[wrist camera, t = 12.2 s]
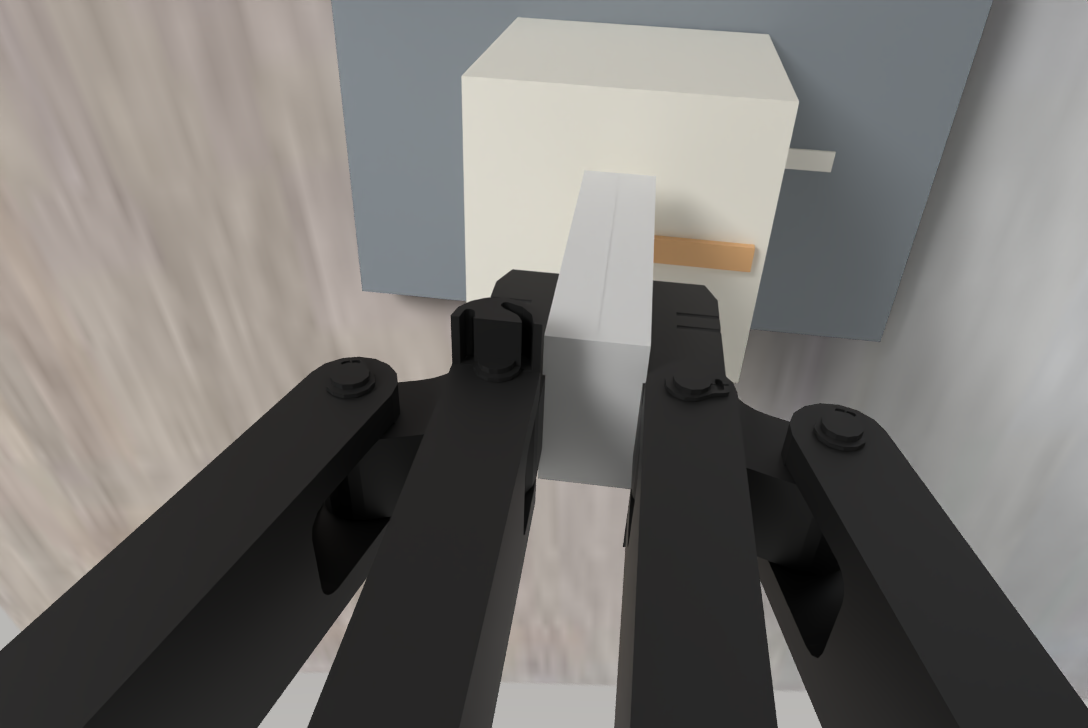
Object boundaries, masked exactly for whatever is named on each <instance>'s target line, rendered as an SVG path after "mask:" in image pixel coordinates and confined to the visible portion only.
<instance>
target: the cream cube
mask: <svg viewBox="0 0 1088 728" xmlns="http://www.w3.org/2000/svg"><path fill="white" fill-rule="evenodd" d="M461 81H462V126H463V171H464V216H465V261H466V303H467V302H469V301H472V300H477V299H482V298H487V297H491V294H492V291H493V289H494V286H495V283H496V281H497V280H499V279H500V278H501V277H503V276H504V275H505V274H507V273H508V272H509V271H511V270H512V269H515V270H526V271H537V272H547V273H558V274H559V273H560V269H561V265H562V261H563V256H564V252H565V248H566V244H567V240H568V236H569V232H570V228H571V224H572V220H573V215H574V211H575V207H576V203H577V199H578V195H579V191H580V187H581V183H582V178H583V174H584V170H587V171H600V172H612V173H624V174H636V175H648V176H656V195H655V227H654V259H653V280H654V281H665V282H675V283H686V284H697V285H705V286H706V287H707V289H708V290H709V291H710V292H711V293H712V294H713V296H714V297H715V298H716V299H717V300H718V308H719V320H720V326H721V335H722V345H723V354H724V363H725V372H726V377H727V378H728V379H730V380H731V381H732V382H733V383H738V382H739V377H740V373H741V368H742V364H743V359H744V354H745V350H746V345H747V341H748V336H749V331H750V327H751V322H752V317H753V313H754V308H755V304H756V299H757V294H758V290H759V285H760V281H761V276H762V271H763V267H764V262H765V257H766V253H767V248H768V244H769V239H770V234H771V230H772V225H773V221H774V216H775V211H776V207H777V202H778V197H779V193H780V188H781V184H782V179H783V174H784V170H785V165H786V161H787V156H788V151H789V147H790V142H791V138H792V133H793V128H794V124H795V119H796V114H797V110H798V105H799V100H798V98H797V96H796V93H795V91H794V89H793V87H792V85H791V82H790V80H789V78H788V76H787V73H786V71H785V69H784V67H783V65H782V62H781V60H780V58H779V56H778V54H777V51H776V49H775V47H774V45H773V42H772V40H771V38H770V36H769V34H757V33H743V32H728V31H713V30H698V29H684V28H669V27H654V26H640V25H625V24H610V23H596V22H581V21H566V20H551V19H537V18H522V17H517V18H516V19H515V20H514V21H513V23H512V24H511V25H510V26H509V27H508V28H507V29H506V30H505V31H504V32H503V33H502V34H501V35H500V36H499V37H498V38H497V39H496V40H495V41H494V42H493V43H492V44H491V46H490V47H489V48H488V49H487V50H486V51H485V52H484V53H483V54H482V55H481V56H480V57H479V58H478V59H477V60H476V61H475V62H474V63H473V64H472V65H471V66H470V67H469V68H468V70H467V71H466V72H465V73H464V74H463V75H462V76H461Z"/></svg>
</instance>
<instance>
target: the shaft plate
mask: <svg viewBox="0 0 1088 728" xmlns="http://www.w3.org/2000/svg"><path fill="white" fill-rule="evenodd" d="M992 2H993V0H331V3H332V12H333V21H334V31H335V40H336V49H337V59H338V68H339V77H340V87H341V96H342V105H343V115H344V124H345V133H346V143H347V152H348V161H349V171H350V180H351V189H352V199H353V208H354V217H355V227H356V236H357V245H358V255H359V264H360V273H361V283H362V291H369V292H379V293H389V294H399V295H409V296H419V297H429V298H440V299H450V300H460V301H466V261H465V216H464V171H463V126H462V81H461V76H462V75H463V74H464V73H465V72H466V71H467V70H468V68H469V67H470V66H471V65H472V64H473V63H474V62H475V61H476V60H477V59H478V58H479V57H480V56H481V55H482V54H483V53H484V52H485V51H486V50H487V49H488V48H489V47H490V46H491V44H492V43H493V42H494V41H495V40H496V39H497V38H498V37H499V36H500V35H501V34H502V33H503V32H504V31H505V30H506V29H507V28H508V27H509V26H510V25H511V24H512V23H513V21H514V20H515V19H516V18H517V17H522V18H537V19H551V20H566V21H581V22H596V23H610V24H625V25H640V26H654V27H669V28H684V29H698V30H713V31H728V32H743V33H757V34H769V36H770V38H771V40H772V42H773V45H774V47H775V49H776V51H777V54H778V56H779V58H780V60H781V62H782V65H783V67H784V69H785V71H786V73H787V76H788V78H789V80H790V82H791V85H792V87H793V89H794V91H795V93H796V96H797V98H798V100H799V105H798V110H797V114H796V119H795V124H794V128H793V133H792V138H791V142H790V147H789V151H788V156H787V161H786V165H785V170H784V174H783V179H782V184H781V188H780V193H779V197H778V202H777V207H776V211H775V216H774V221H773V225H772V230H771V234H770V239H769V244H768V248H767V253H766V257H765V262H764V267H763V271H762V276H761V281H760V285H759V290H758V294H757V299H756V304H755V308H754V313H753V317H752V322H751V327H750V329H754V330H764V331H775V332H785V333H795V334H805V335H815V336H825V337H835V338H846V339H856V340H866V341H876V342H880V341H881V338H882V335H883V332H884V329H885V326H886V323H887V320H888V317H889V314H890V311H891V308H892V305H893V302H894V299H895V296H896V293H897V290H898V287H899V284H900V281H901V278H902V275H903V272H904V269H905V266H906V263H907V260H908V257H909V254H910V250H911V247H912V244H913V241H914V238H915V235H916V232H917V229H918V226H919V223H920V220H921V217H922V214H923V211H924V208H925V205H926V202H927V199H928V196H929V193H930V190H931V187H932V184H933V181H934V178H935V175H936V172H937V169H938V166H939V163H940V160H941V157H942V154H943V151H944V148H945V145H946V141H947V138H948V135H949V132H950V129H951V126H952V123H953V120H954V117H955V114H956V111H957V108H958V105H959V102H960V99H961V96H962V93H963V90H964V87H965V84H966V81H967V78H968V75H969V72H970V69H971V66H972V63H973V60H974V57H975V54H976V51H977V48H978V45H979V42H980V39H981V36H982V33H983V29H984V26H985V23H986V20H987V17H988V14H989V11H990V8H991V5H992Z"/></svg>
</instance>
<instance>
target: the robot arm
mask: <svg viewBox="0 0 1088 728" xmlns="http://www.w3.org/2000/svg"><path fill="white" fill-rule="evenodd" d="M655 195H656V176H648V175H636V174H624V173H612V172H600V171H587V170H584V174H583V178H582V183H581V187H580V191H579V195H578V199H577V203H576V207H575V211H574V215H573V220H572V224H571V228H570V232H569V236H568V240H567V244H566V248H565V252H564V256H563V261H562V265H561V269H560V273H559V274H558V273H547V272H537V271H526V270H515V269H512V270H511V271H509V272H508V273H507V274H505V275H504V276H503V277H501V278H500V279H499V280H497V281H496V283H495V286H494V289H493V291H492V294H491V297H487V298H482V299H477V300H472V301H469V302H467V303H465V304H463V305H461V306H459V307H458V308H457V309H456V310H455V311H454V312H453V314H452V315H451V337H452V366H451V368H450V371H449V373H447V374H445V375H442V376H439V377H436V378H431V379H425V380H418V381H408V382H398V381H397V373H396V372H395V371H394V370H393V369H392V368H391V367H390V366H389V365H388V364H386V363H384V362H381V361H379V360H377V359H372V358H364V357H352V358H350V357H349V358H341V359H338V360H335V361H332V362H329V363H326V364H324V365H322V366H320V367H319V368H317V369H316V370H314V371H313V372H311V373H310V374H309V375H308V376H307V377H306V378H305V379H303V380H302V381H301V382H300V383H299V384H298V385H297V386H296V387H295V388H293V389H292V390H291V391H290V392H289V393H288V394H287V395H286V396H284V397H283V398H282V399H281V400H280V401H279V402H278V403H277V404H276V405H274V406H273V407H272V408H271V409H270V410H269V411H268V412H267V413H265V414H264V415H263V416H262V417H261V418H260V419H259V420H258V421H257V422H255V423H254V424H253V425H252V426H251V427H250V428H249V429H248V430H246V431H245V432H244V433H243V434H242V435H241V436H240V437H239V438H238V439H236V440H235V441H234V442H233V443H232V444H231V445H230V446H229V447H227V448H226V449H225V450H224V451H223V452H222V453H221V454H220V455H219V456H217V457H216V458H215V459H214V460H213V461H212V462H211V463H210V464H208V465H207V466H206V467H205V468H204V469H203V470H202V471H201V472H200V473H198V474H197V475H196V476H195V477H194V478H193V479H192V480H191V481H189V482H188V483H187V484H186V485H185V486H184V487H183V488H182V489H181V490H179V491H178V492H177V493H176V494H175V495H174V496H173V497H172V498H170V499H169V500H168V501H167V502H166V503H165V504H164V505H163V506H162V507H160V508H159V509H158V510H157V511H156V512H155V513H154V514H153V515H151V516H150V517H149V518H148V519H147V520H146V521H145V522H144V523H143V524H141V525H140V526H139V527H138V528H137V529H136V530H135V531H134V532H133V533H131V534H130V535H129V536H128V537H127V538H126V539H125V540H124V541H122V542H121V543H120V544H119V545H118V546H117V547H116V548H115V549H114V550H112V551H111V552H110V553H109V554H108V555H107V556H106V557H105V558H103V559H102V560H101V561H100V562H99V563H98V564H97V565H96V566H95V567H93V568H92V569H91V570H90V571H89V572H88V573H87V574H86V575H84V576H83V577H82V578H81V579H80V580H79V581H78V582H77V583H76V584H74V585H73V586H72V587H71V588H70V589H69V590H68V591H67V592H65V593H64V594H63V595H62V596H61V597H60V598H59V599H58V600H57V601H55V602H54V603H53V604H52V605H51V606H50V607H49V608H48V609H46V610H45V611H44V612H43V613H42V614H41V615H40V616H39V617H38V618H36V619H35V620H34V621H33V622H32V623H31V624H30V625H29V626H27V627H26V628H25V629H24V630H23V631H22V632H21V633H20V634H19V635H17V636H16V637H15V638H14V639H13V640H12V641H11V642H10V643H9V644H7V645H6V646H5V647H4V648H3V649H2V650H1V651H0V728H257V727H258V726H259V725H260V723H261V722H262V720H263V719H264V718H265V716H266V715H267V714H268V712H269V711H270V709H271V708H272V707H273V705H274V704H275V703H276V701H277V700H278V699H279V697H280V696H281V695H282V693H283V692H284V690H285V689H286V687H287V686H288V685H289V684H290V682H291V681H292V679H293V678H294V677H295V675H296V674H297V673H298V671H299V670H300V668H301V667H302V666H303V664H304V663H305V662H306V660H307V659H308V658H309V656H310V655H311V653H312V652H313V651H314V649H315V648H316V647H317V645H318V644H319V642H320V641H321V640H322V638H323V637H324V636H325V634H326V633H327V631H328V630H329V629H330V627H331V626H332V625H333V623H334V622H335V621H336V619H337V618H338V616H339V615H340V614H341V612H342V611H343V610H344V608H345V607H346V605H347V604H348V603H349V601H350V600H351V599H352V597H353V596H354V595H355V593H356V592H357V590H358V589H359V588H360V586H361V585H362V584H363V582H364V581H365V579H366V578H367V579H366V582H365V584H364V587H363V589H362V592H361V594H360V597H359V599H358V602H357V604H356V607H355V609H354V612H353V614H352V617H351V619H350V622H349V624H348V627H347V629H346V632H345V634H344V637H343V639H342V642H341V644H340V647H339V650H338V652H337V655H336V657H335V660H334V662H333V665H332V667H331V670H330V672H329V675H328V677H327V680H326V682H325V685H324V687H323V690H322V692H321V695H320V697H319V700H318V702H317V705H316V707H315V710H314V712H313V715H312V717H311V720H310V722H309V725H308V728H492V723H493V718H494V713H495V707H496V702H497V697H498V692H499V686H500V682H501V676H502V671H503V666H504V661H505V656H506V650H507V645H508V640H509V635H510V630H511V624H512V619H513V614H514V609H515V604H516V598H517V593H518V588H519V583H520V578H521V573H522V567H523V562H524V557H525V552H526V547H527V541H528V536H529V531H530V526H531V521H532V515H533V510H534V505H535V492H536V476H537V471H538V478H540V479H548V480H557V481H565V482H574V483H582V484H591V485H599V486H608V487H617V488H625V489H631V492H630V499H629V506H628V514H627V521H626V528H625V536H624V543H623V547H626V548H625V564H624V580H623V596H622V612H621V629H620V645H619V661H618V677H617V694H616V709H615V726H614V728H778V726H777V718H776V710H775V702H774V693H773V685H772V677H771V668H770V660H769V652H768V643H767V635H766V627H765V618H764V610H763V602H762V594H761V585H760V581H761V583H762V585H763V588H764V590H765V593H766V595H767V597H768V600H769V602H770V604H771V607H772V609H773V612H774V614H775V616H776V619H777V621H778V624H779V626H780V628H781V631H782V633H783V635H784V638H785V640H786V643H787V645H788V647H789V650H790V652H791V654H792V657H793V659H794V662H795V664H796V666H797V669H798V671H799V674H800V676H801V678H802V681H803V683H804V685H805V688H806V690H807V693H808V695H809V697H810V700H811V702H812V705H813V707H814V709H815V712H816V714H817V716H818V719H819V721H820V723H821V726H822V728H1088V708H1087V706H1086V705H1085V704H1084V702H1083V701H1082V700H1081V698H1080V697H1079V695H1078V694H1077V693H1076V691H1075V690H1074V689H1073V687H1072V686H1071V684H1070V683H1069V682H1068V680H1067V679H1066V678H1065V676H1064V675H1063V673H1062V672H1061V671H1060V669H1059V668H1058V667H1057V665H1056V664H1055V663H1054V661H1053V660H1052V658H1051V657H1050V656H1049V654H1048V653H1047V652H1046V650H1045V649H1044V647H1043V646H1042V645H1041V643H1040V642H1039V641H1038V639H1037V638H1036V636H1035V635H1034V634H1033V632H1032V631H1031V630H1030V628H1029V627H1028V625H1027V624H1026V623H1025V621H1024V620H1023V619H1022V617H1021V616H1020V614H1019V613H1018V612H1017V610H1016V609H1015V608H1014V606H1013V605H1012V604H1011V602H1010V601H1009V599H1008V598H1007V597H1006V595H1005V594H1004V593H1003V591H1002V590H1001V588H1000V587H999V586H998V584H997V583H996V582H995V580H994V579H993V577H992V576H991V575H990V573H989V572H988V571H987V569H986V568H985V566H984V565H983V564H982V562H981V561H980V560H979V558H978V557H977V555H976V554H975V553H974V551H973V550H972V549H971V547H970V546H969V545H968V543H967V542H966V540H965V539H964V538H963V536H962V535H961V534H960V532H959V531H958V529H957V528H956V527H955V525H954V524H953V523H952V521H951V520H950V518H949V517H948V516H947V514H946V513H945V512H944V510H943V509H942V507H941V506H940V505H939V503H938V502H937V501H936V499H935V498H934V496H933V495H932V494H931V492H930V491H929V490H928V488H927V487H926V485H925V484H924V483H923V481H922V480H921V479H920V477H919V476H918V475H917V473H916V472H915V470H914V469H913V468H912V466H911V465H910V464H909V462H908V461H907V459H906V458H905V457H904V455H903V454H902V453H901V451H900V450H899V448H898V447H897V446H896V444H895V443H894V442H893V440H892V439H891V437H890V436H889V435H888V433H887V432H886V431H885V430H884V429H883V428H882V427H881V426H880V425H879V424H878V423H877V422H876V421H875V420H874V419H872V418H870V417H868V416H866V415H865V414H863V413H861V412H859V411H857V410H854V409H851V408H847V407H844V406H841V405H833V404H821V403H820V404H814V405H809V406H804V407H803V408H801V409H799V410H798V411H796V412H795V413H794V414H793V416H792V418H791V421H790V422H788V421H785V420H782V419H779V418H776V417H773V416H769V415H767V414H764V413H762V412H759V411H757V410H754V409H753V408H751V407H749V406H748V405H746V404H744V403H743V402H742V401H740V400H739V399H738V395H737V391H736V389H735V386H734V384H733V382H732V381H731V380H730V379H728V378H727V377H726V372H725V363H724V354H723V345H722V335H721V326H720V320H719V308H718V300H717V299H716V298H715V297H714V296H713V294H712V293H711V292H710V291H709V290H708V289H707V287H706V286H705V285H697V284H686V283H675V282H665V281H654V280H653V259H654V227H655ZM538 466H539V467H538Z"/></svg>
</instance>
